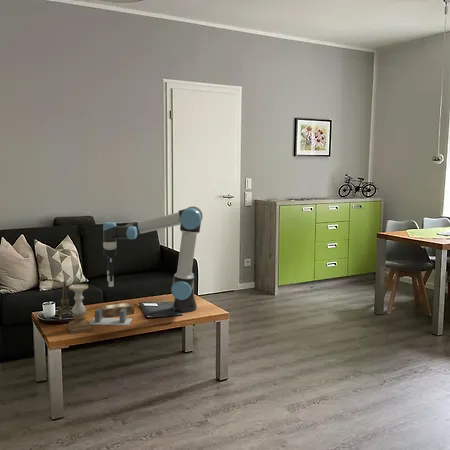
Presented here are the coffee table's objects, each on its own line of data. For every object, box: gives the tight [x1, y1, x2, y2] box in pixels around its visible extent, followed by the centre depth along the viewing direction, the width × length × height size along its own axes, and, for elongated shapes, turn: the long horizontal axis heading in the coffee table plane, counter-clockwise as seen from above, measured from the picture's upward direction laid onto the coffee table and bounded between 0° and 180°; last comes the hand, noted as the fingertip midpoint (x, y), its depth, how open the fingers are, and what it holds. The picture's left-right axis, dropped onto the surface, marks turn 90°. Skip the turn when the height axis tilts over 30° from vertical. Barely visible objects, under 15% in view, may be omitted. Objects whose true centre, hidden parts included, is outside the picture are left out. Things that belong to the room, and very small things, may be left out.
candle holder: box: [66, 283, 93, 335], centre depth 274 cm, size 11×11×24 cm
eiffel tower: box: [55, 276, 73, 318], centre depth 296 cm, size 11×11×25 cm
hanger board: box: [88, 307, 133, 327], centre depth 288 cm, size 22×11×7 cm, turn 89°
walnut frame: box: [99, 302, 135, 318], centre depth 304 cm, size 18×9×5 cm, turn 118°
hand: (110, 283), depth 302 cm, fingers open, 13 cm apart
